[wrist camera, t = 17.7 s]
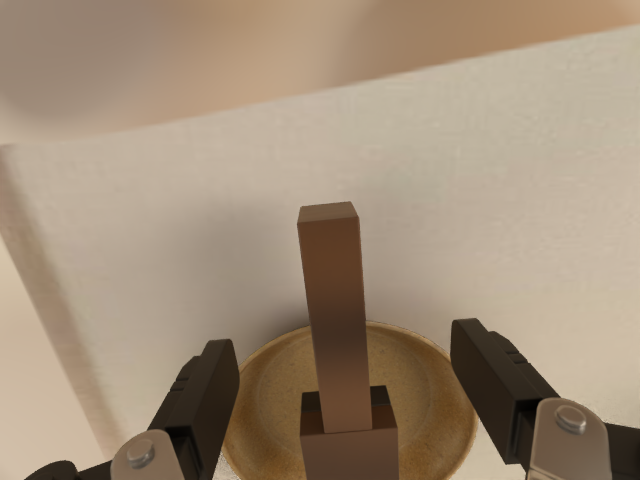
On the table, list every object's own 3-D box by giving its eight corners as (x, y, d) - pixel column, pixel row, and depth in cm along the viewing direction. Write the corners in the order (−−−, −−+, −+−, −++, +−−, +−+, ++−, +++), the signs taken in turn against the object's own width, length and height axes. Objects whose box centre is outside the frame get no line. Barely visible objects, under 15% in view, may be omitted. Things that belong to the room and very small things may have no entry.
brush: (390, 476, 19) (401, 527, 17) (315, 482, 19) (315, 534, 17) (378, 198, 13) (392, 213, 11) (273, 208, 14) (264, 226, 11)
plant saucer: (293, 501, 23) (291, 544, 21) (181, 354, 19) (161, 387, 17) (486, 435, 22) (508, 474, 19) (411, 254, 17) (427, 275, 15)
